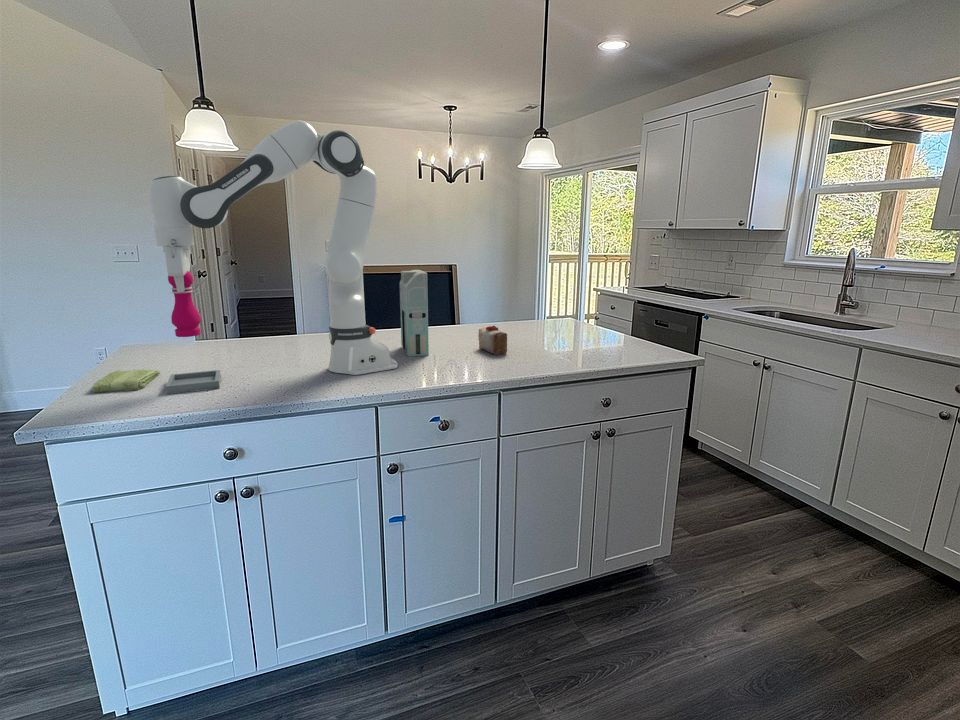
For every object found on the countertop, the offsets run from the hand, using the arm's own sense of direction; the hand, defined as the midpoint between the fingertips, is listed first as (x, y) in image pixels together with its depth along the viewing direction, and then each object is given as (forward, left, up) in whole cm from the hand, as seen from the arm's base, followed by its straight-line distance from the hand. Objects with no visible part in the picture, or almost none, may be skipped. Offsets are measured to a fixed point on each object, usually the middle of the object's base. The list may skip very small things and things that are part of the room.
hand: (182, 290), depth 138 cm
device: (-72, -16, -28) cm, 79 cm away
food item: (-99, -4, -28) cm, 103 cm away
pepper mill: (0, 0, -13) cm, 13 cm away
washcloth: (+18, -10, -28) cm, 35 cm away
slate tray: (0, 0, -28) cm, 28 cm away
